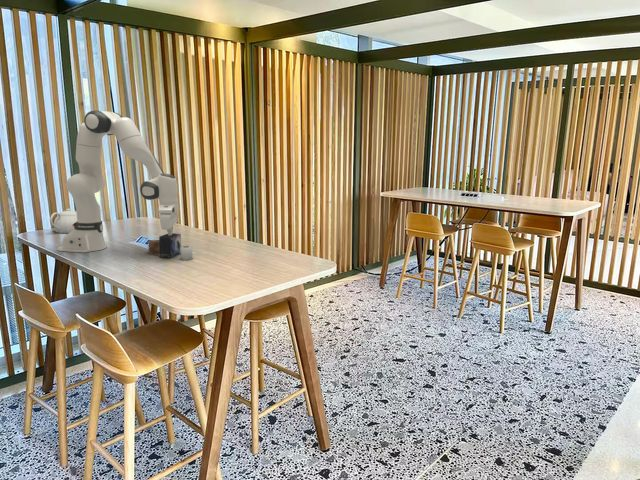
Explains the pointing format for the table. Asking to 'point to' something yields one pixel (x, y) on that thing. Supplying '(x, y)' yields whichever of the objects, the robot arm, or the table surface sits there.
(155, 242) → the walnut cube
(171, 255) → the small box
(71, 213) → the teapot
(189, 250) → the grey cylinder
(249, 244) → the table surface
